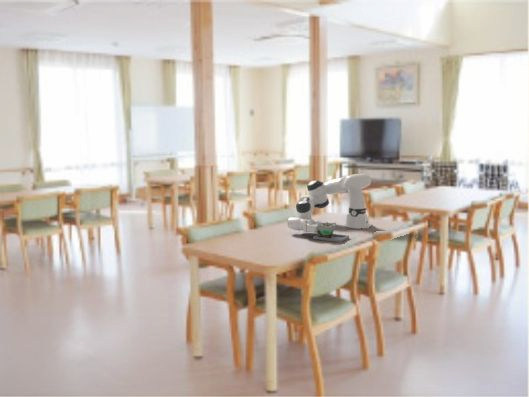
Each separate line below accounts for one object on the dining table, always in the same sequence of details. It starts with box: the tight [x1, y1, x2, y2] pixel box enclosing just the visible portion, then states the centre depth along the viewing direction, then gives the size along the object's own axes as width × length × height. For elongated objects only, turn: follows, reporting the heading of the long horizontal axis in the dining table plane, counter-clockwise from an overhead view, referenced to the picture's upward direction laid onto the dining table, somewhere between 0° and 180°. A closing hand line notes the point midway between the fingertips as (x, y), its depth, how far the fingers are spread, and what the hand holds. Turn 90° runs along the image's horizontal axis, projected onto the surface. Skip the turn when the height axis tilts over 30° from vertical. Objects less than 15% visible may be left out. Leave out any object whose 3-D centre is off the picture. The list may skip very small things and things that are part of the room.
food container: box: [317, 221, 337, 238], centre depth 348 cm, size 12×6×10 cm, turn 98°
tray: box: [312, 233, 350, 244], centre depth 351 cm, size 15×19×2 cm
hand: (328, 227), depth 351 cm, fingers open, 8 cm apart
